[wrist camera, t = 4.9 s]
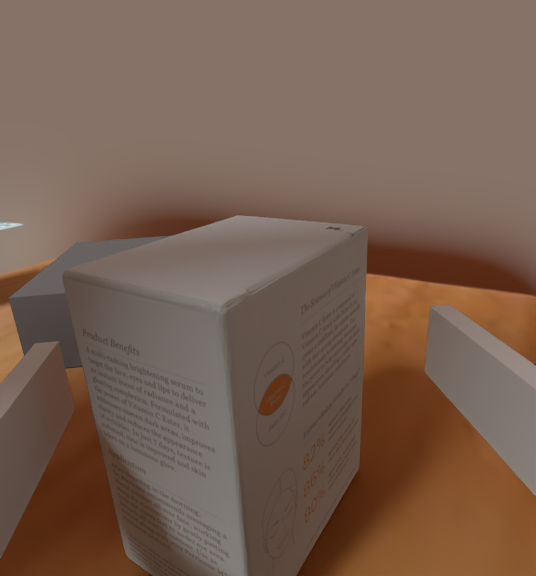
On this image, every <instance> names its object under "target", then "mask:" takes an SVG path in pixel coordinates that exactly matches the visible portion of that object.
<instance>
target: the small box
mask: <svg viewBox="0 0 536 576" xmlns="http://www.w3.org/2000/svg"><path fill="white" fill-rule="evenodd" d="M367 239H368V229H367V228H366V227H363V226H355V225H346V224H335V223H323V222H311V221H299V220H288V219H276V218H265V217H264V218H263V217H254V216H238V215H237V216H235V217H232V218H229V219H226V220H222V221H219V222H216V223H213V224H209V225H206V226H203V227H200V228H196V229H193V230H190V231H187V232H183V233H180V234H177V235H174V236H171V237H167V238H164V239H161V240H158V241H154V242H151V243H148V244H145V245H142V246H139V247H135V248H132V249H129V250H126V251H122V252H119V253H116V254H113V255H110V256H107V257H103V258H100V259H97V260H94V261H90V262H87V263H84V264H80V265H77V266H74V267H71V268H68V269H66V270H65V271H64V272H63V274H62V279H63V284H64V289H65V293H66V298H67V302H68V307H69V311H70V315H71V319H72V324H73V328H74V332H75V337H76V341H77V345H78V349H79V354H80V358H81V362H82V367H83V371H84V375H85V380H86V384H87V388H88V393H89V398H90V402H91V407H92V412H93V415H94V420H95V425H96V429H97V433H98V437H99V442H100V446H101V450H102V455H103V459H104V464H105V468H106V472H107V476H108V480H109V485H110V489H111V493H112V498H113V503H114V508H115V511H116V515H117V519H118V524H119V528H120V533H121V537H122V541H123V546H124V550H125V554H126V555H127V557H128V558H129V559H130V560H132V561H133V562H135V563H136V564H137V565H139V566H140V567H142V568H143V569H144V570H146V571H147V572H148V573H150V574H151V575H152V576H297V574H298V572H299V570H300V569H301V567H302V565H303V563H304V562H305V560H306V558H307V556H308V555H309V553H310V551H311V550H312V548H313V546H314V545H315V543H316V541H317V539H318V538H319V536H320V534H321V533H322V531H323V529H324V527H325V526H326V524H327V522H328V521H329V519H330V517H331V516H332V514H333V512H334V510H335V509H336V507H337V505H338V503H339V502H340V500H341V498H342V496H343V495H344V493H345V491H346V490H347V488H348V486H349V484H350V483H351V481H352V479H353V478H354V476H355V474H356V473H357V471H358V469H359V465H360V443H361V419H362V389H363V365H364V331H365V293H366V266H367Z"/></svg>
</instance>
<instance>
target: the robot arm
mask: <svg viewBox="0 0 536 576" xmlns="http://www.w3.org/2000/svg"><path fill="white" fill-rule="evenodd" d="M424 372H425V373H426V374H427V375H428V377H429V378H430V379H431V380H432V381H433V382H434V383H435V384H436V386H437V387H438V388H439V389H440V390H441V391H442V392H443V393H444V394H445V396H446V397H447V398H448V399H449V400H450V401H451V402H452V403H453V404H454V406H455V407H456V408H457V409H458V410H459V411H460V412H461V413H462V415H463V416H464V417H465V418H466V419H467V420H468V421H469V422H470V423H471V425H472V426H473V427H474V428H475V429H476V430H477V431H478V432H479V433H480V435H481V436H482V437H483V438H484V439H485V440H486V441H487V442H488V443H489V445H490V446H491V447H492V448H493V449H494V450H495V451H496V452H497V454H498V455H499V456H500V457H501V458H502V459H503V460H504V461H505V462H506V464H507V465H508V466H509V467H510V468H511V469H512V470H513V471H514V472H515V474H516V475H517V476H518V477H519V478H520V479H521V480H522V481H523V483H524V484H525V485H526V486H527V487H528V488H529V489H530V490H531V491H532V493H533V494H534V495H535V496H536V364H533V363H531V362H530V361H528V360H527V359H526V358H524V357H523V356H521V355H520V354H519V353H517V352H516V351H514V350H513V349H512V348H510V347H509V346H507V345H506V344H505V343H503V342H502V341H500V340H499V339H498V338H496V337H495V336H493V335H492V334H491V333H489V332H488V331H486V330H485V329H483V328H482V327H481V326H479V325H478V324H476V323H475V322H474V321H472V320H471V319H469V318H468V317H467V316H465V315H464V314H462V313H461V312H460V311H458V310H457V309H455V308H454V307H453V306H451V305H441V306H430V314H429V325H428V337H427V348H426V359H425V371H424ZM74 411H75V408H74V403H73V399H72V395H71V391H70V387H69V382H68V378H67V374H66V370H65V365H64V361H63V357H62V353H61V348H60V344H59V341H56V342H45V343H35V344H34V345H33V346H32V348H31V349H30V350H29V351H28V352H27V353H26V355H25V356H24V357H23V358H22V359H21V360H20V362H19V363H18V364H17V365H16V366H15V367H14V369H13V370H12V371H11V372H10V373H9V375H8V376H7V377H6V378H5V379H4V380H3V382H2V383H1V384H0V559H1V557H2V555H3V553H4V551H5V549H6V547H7V545H8V543H9V541H10V539H11V537H12V535H13V533H14V531H15V529H16V527H17V525H18V523H19V521H20V519H21V517H22V515H23V513H24V511H25V509H26V507H27V505H28V503H29V501H30V499H31V497H32V495H33V493H34V491H35V489H36V487H37V485H38V483H39V481H40V479H41V477H42V475H43V473H44V471H45V469H46V467H47V465H48V463H49V461H50V459H51V457H52V455H53V453H54V451H55V449H56V447H57V445H58V443H59V441H60V439H61V437H62V435H63V433H64V431H65V429H66V427H67V425H68V423H69V421H70V419H71V417H72V415H73V413H74Z"/></svg>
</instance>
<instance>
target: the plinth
mask: <svg viewBox="0 0 536 576" xmlns="http://www.w3.org/2000/svg"><path fill="white" fill-rule="evenodd" d="M167 237H171V236H162V237H148V238H135V239H121V240H108V241H94V242H80V243H76V244H75V245H73V246H72V247H71V248H70V249H68V250H67V251H66V252H65V253H64V254H62V255H61V256H60V257H58V258H57V259H56V260H55V261H54V262H52V263H51V264H50V265H49V266H47V267H46V268H45V269H44V270H42V271H41V272H40V273H39V274H37V275H36V276H35V277H34V278H33V279H31V280H30V281H29V282H28V283H26V284H25V285H24V286H23V287H21V288H20V289H19V290H18V291H16V292H15V293H14V294H13V295H12V296H10V297H9V301H10V305H11V309H12V312H13V316H14V320H15V324H16V327H17V331H18V335H19V338H20V342H21V346H22V349H23V353H24V356H25V355H26V353H27V352H28V351H29V350H30V349H31V348H32V346H33V345H34V344H35V343H45V342H56V341H59V344H60V348H61V353H62V357H63V361H64V365H65V368H70V367H80V366H82V362H81V358H80V354H79V349H78V345H77V341H76V337H75V332H74V328H73V324H72V319H71V315H70V311H69V307H68V302H67V298H66V293H65V289H64V284H63V279H62V274H63V272H64V271H65V270H66V269H68V268H71V267H74V266H77V265H80V264H84V263H87V262H90V261H94V260H97V259H100V258H103V257H107V256H110V255H113V254H116V253H119V252H122V251H126V250H129V249H132V248H135V247H139V246H142V245H145V244H148V243H151V242H154V241H158V240H161V239H164V238H167Z"/></svg>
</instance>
